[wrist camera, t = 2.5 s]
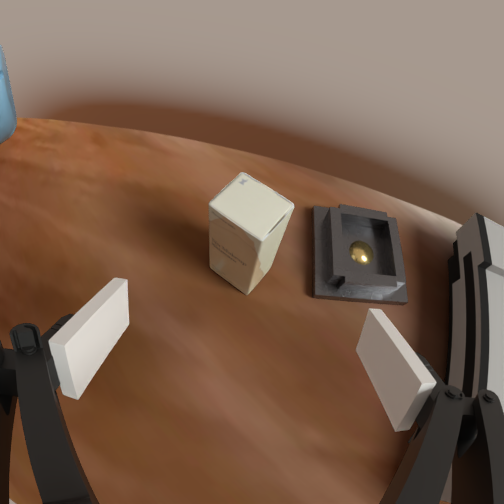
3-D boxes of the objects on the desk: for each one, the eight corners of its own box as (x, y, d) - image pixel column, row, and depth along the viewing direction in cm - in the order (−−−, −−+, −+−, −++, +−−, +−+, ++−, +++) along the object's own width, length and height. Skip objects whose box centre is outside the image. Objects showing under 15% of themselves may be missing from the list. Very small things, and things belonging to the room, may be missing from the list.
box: (208, 267, 31) (203, 200, 21) (234, 239, 33) (240, 167, 23) (249, 298, 30) (263, 241, 20) (274, 267, 32) (297, 202, 22)
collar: (312, 297, 31) (320, 286, 28) (311, 210, 36) (318, 195, 33) (403, 305, 31) (417, 295, 28) (392, 224, 36) (402, 210, 34)
